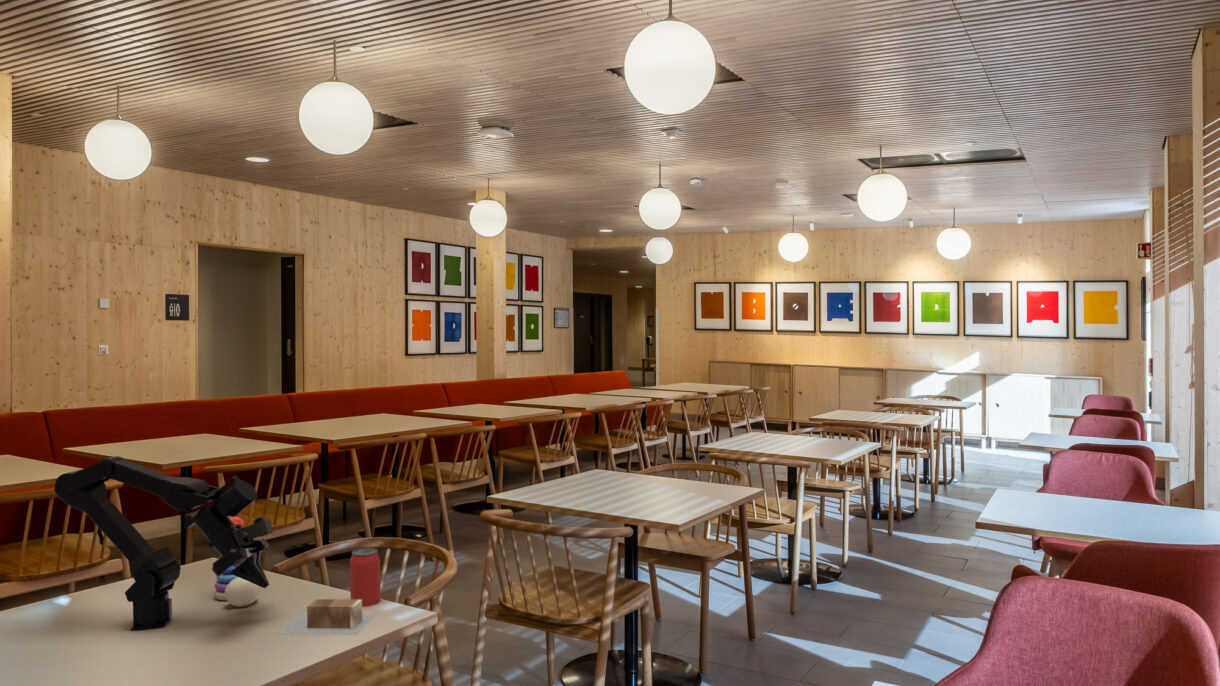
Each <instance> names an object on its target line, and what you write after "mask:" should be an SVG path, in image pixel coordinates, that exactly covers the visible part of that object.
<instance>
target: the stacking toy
mask: <svg viewBox="0 0 1220 686" xmlns="http://www.w3.org/2000/svg"><path fill="white" fill-rule="evenodd" d="M228 517H229V518H230V519H231V521H232V522H233V523H234V524H241V525H242V527H243V528H244V527H246V526H245V521H244V520H243V519H242V518H241V517H239V516H236V517H232V516H228ZM220 557H222V556H221V555H220V556H219V558H220ZM233 565H234V564H233ZM233 565H232V566H231V567H230V568H228V569H227V570H226V571H225V573H224V574H223V575H221V576H219V577H217V576H216V580H217V581H216V582H215V584H214V589H215V591H214V593H213V595H214V598H215V599H217V600H219V601H228V600H227V599H226V598H225V588H226V587H227V585H228V584H229V583H230V582H231V581H232V580H233V579H235V578H237V576H235V575H231V574H229V573H230V572H231V571H233V570H234V569H235V568H234V567H233Z"/></svg>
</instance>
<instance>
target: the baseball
mask: <svg viewBox="0 0 1220 686" xmlns="http://www.w3.org/2000/svg"><path fill="white" fill-rule="evenodd" d="M259 594H260V586H258V585H256V584H253V583H251V582H249V581H247V580H244V579H242V578H239V577H237V578H235V579H233V580H232V581H231V582H230V583H229V584H228V585H227V587H226V588H225V598H226V599H227V600H226V601H227V602H228V603H229V604H231V605H232V606H233V607H238V608H239V607H240V608H241V607H247V606H250V605H251V604H253V603H254V602H256V600H257V598H258V596H259Z"/></svg>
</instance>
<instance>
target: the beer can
mask: <svg viewBox="0 0 1220 686" xmlns="http://www.w3.org/2000/svg"><path fill="white" fill-rule="evenodd" d="M349 579H350V580H349V584H350V585H349V588H350V600H362V608H363V607H370V606H373V605H377V604H378V603H380V602H381V599H382V597H381V596H382V593H381V592H382V591H381V558H380V555H379V553H378V549H377V548H373V547H362V548H357V549H355V550H353V551H352V552H351V557H350V558H349Z"/></svg>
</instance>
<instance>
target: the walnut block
mask: <svg viewBox="0 0 1220 686" xmlns="http://www.w3.org/2000/svg"><path fill="white" fill-rule="evenodd" d="M306 615H307V628H355V627H356V626H357V625H358V624H359V623H360V622H361V621H362V615H363V607H362V600H351V599H345V598H344V599H340V598H339V599H338V598H337V599H336V598H335V599H331V598H327V599H323V598H322V599H320V598H316V599H315V600H313V601H312V602H311V603H310V604H308V605H307V606H306Z"/></svg>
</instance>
